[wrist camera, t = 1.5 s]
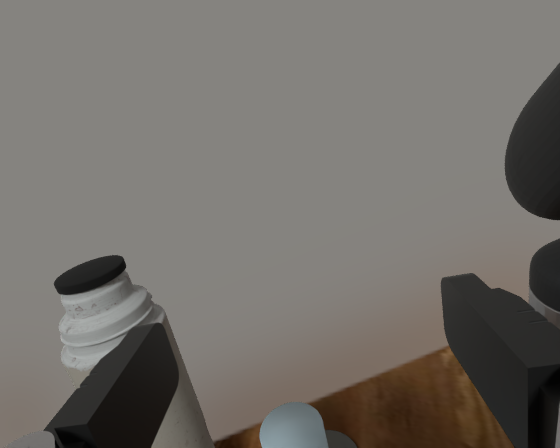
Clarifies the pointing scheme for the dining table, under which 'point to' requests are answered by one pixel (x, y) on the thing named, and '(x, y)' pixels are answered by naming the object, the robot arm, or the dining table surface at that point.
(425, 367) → the dining table surface
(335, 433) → the coaster
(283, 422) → the tall pale blue cylinder
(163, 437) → the thermos bottle
